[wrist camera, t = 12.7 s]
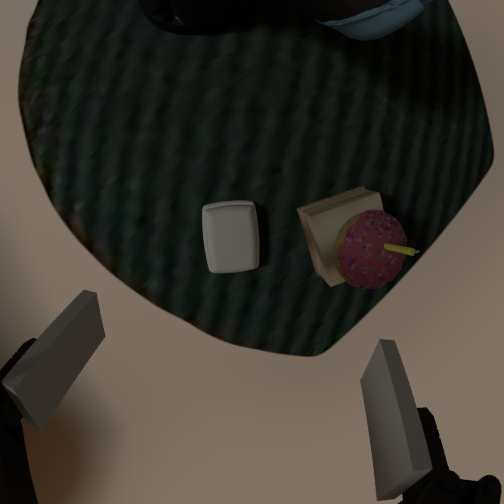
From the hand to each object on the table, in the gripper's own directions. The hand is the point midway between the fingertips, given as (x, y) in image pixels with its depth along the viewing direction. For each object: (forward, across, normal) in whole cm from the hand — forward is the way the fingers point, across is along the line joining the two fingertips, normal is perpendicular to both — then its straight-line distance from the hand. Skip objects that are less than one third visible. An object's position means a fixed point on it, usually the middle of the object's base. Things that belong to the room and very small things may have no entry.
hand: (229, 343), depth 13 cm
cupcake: (+24, +11, -3) cm, 26 cm away
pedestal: (+28, +10, -4) cm, 30 cm away
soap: (+26, -4, -6) cm, 27 cm away
